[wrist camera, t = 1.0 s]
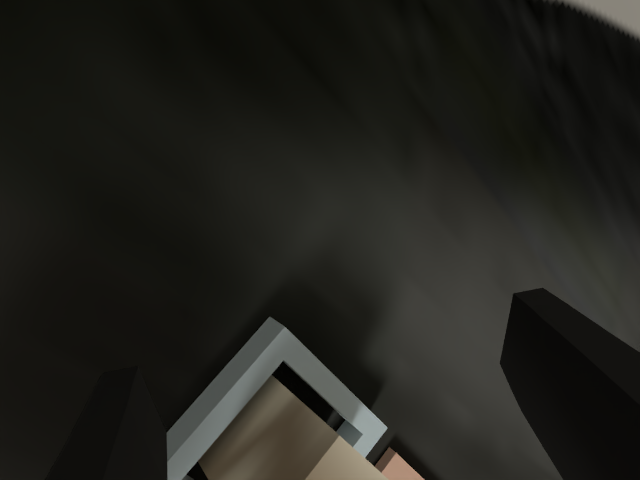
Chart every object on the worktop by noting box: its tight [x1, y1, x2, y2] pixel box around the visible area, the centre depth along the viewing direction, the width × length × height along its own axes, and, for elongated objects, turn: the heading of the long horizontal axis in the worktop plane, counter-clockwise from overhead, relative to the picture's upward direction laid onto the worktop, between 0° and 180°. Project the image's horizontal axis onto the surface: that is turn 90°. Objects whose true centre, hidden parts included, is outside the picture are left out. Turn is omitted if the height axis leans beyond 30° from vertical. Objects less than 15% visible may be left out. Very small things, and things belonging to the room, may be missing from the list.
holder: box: [167, 317, 387, 480], centre depth 23 cm, size 8×8×2 cm
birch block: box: [198, 375, 389, 480], centre depth 21 cm, size 4×4×6 cm
